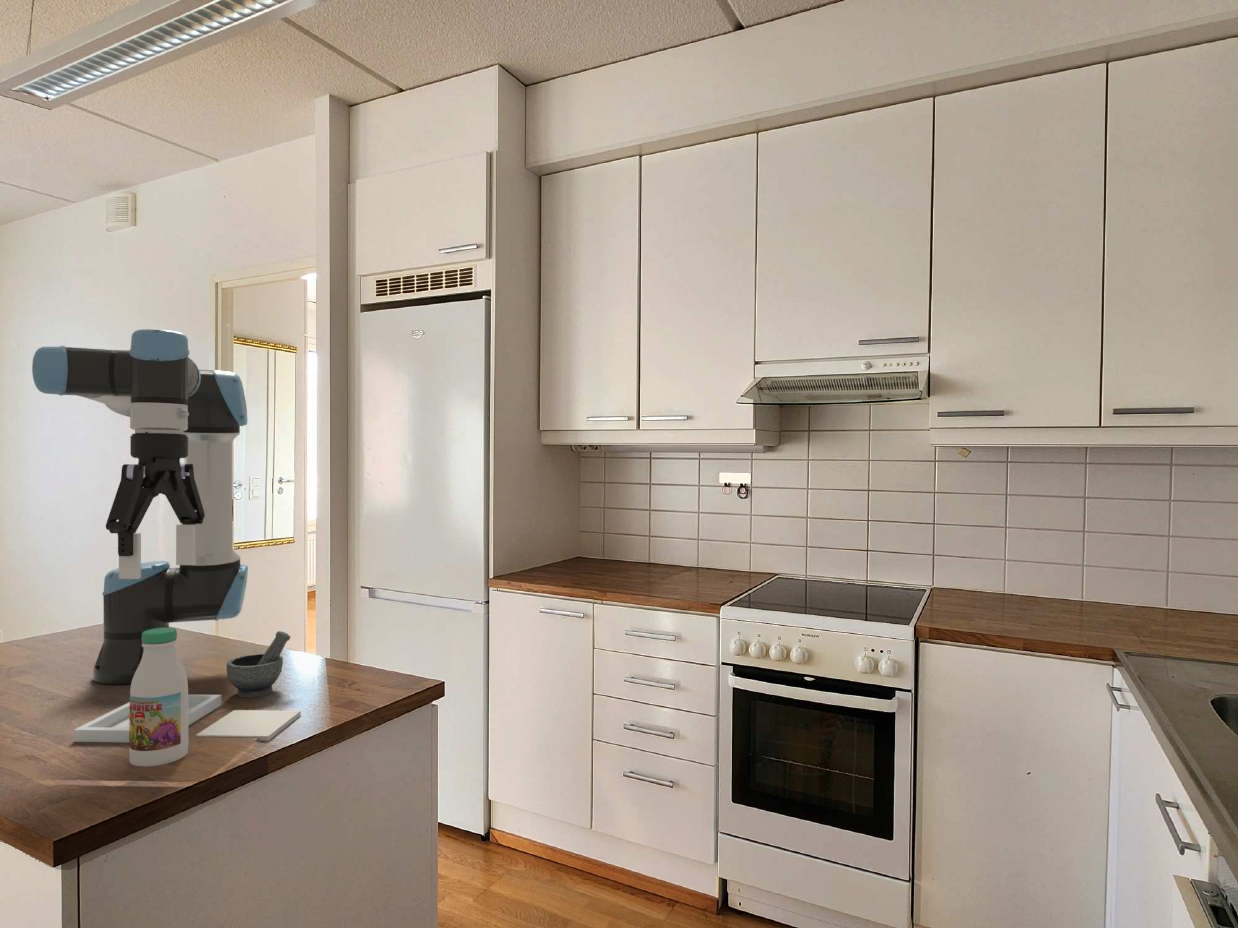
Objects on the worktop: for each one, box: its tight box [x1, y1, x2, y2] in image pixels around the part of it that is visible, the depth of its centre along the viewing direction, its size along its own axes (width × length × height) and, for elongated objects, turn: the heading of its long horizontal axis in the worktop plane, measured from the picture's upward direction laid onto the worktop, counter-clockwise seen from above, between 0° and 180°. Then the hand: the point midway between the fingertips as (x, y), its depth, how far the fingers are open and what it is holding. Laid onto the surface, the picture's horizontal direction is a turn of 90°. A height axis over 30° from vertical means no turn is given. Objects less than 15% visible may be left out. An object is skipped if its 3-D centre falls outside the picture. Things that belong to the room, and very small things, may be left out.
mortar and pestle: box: [226, 630, 291, 698], centre depth 146 cm, size 11×9×12 cm
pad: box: [195, 709, 302, 742], centre depth 129 cm, size 12×12×1 cm
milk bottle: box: [128, 627, 189, 767], centre depth 115 cm, size 8×8×20 cm
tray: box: [73, 693, 223, 744], centre depth 129 cm, size 18×14×2 cm
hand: (159, 571), depth 114 cm, fingers open, 13 cm apart
